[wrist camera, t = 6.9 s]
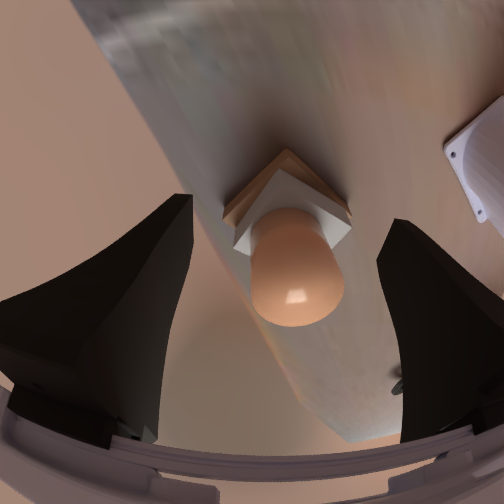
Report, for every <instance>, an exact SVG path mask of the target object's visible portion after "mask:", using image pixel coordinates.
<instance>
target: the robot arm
mask: <svg viewBox="0 0 504 504" xmlns="http://www.w3.org/2000/svg"><path fill="white" fill-rule="evenodd" d="M443 150H444V153H445V154H446V156H447V158H448V160H449V162H450V164H451V165H452V167H453V169H454V171H455V173H456V175H457V177H458V179H459V181H460V183H461V185H462V187H463V189H464V191H465V194H466V196H467V198H468V200H469V202H470V205H471V207H472V209H473V212H474V214H475V216H476V219H477V221H478V222H479V223H483V222H484V221H485V220H486V219H489V220H490V222H491V223H492V224H493V225H494V227H495V228H496V229H497V230H498V232H499V233H500V234H501V235H502V237H503V238H504V95H502V96H500V97H499V98H498V99H497V100H496V101H495V102H493V103H492V104H491V105H490V106H489V107H488V108H487V109H486V110H484V111H483V112H482V113H481V114H480V115H479V116H478V117H476V118H475V119H474V120H473V121H472V122H471V123H469V124H468V125H467V126H466V127H465V128H464V129H462V130H461V131H460V132H459V133H458V134H456V135H455V136H454V137H453V138H452V139H451V140H449V141H448V142H447V143H446V144H445V145H444V149H443ZM452 152H454V153H453V155H452V156H451V153H452ZM193 244H194V238H193V195H190V194H174V195H172V196H171V197H170V198H169V199H168V200H166V201H165V202H164V203H163V204H162V205H160V206H159V207H158V208H157V209H156V210H155V211H153V212H152V213H151V214H150V215H149V216H147V217H146V218H145V219H144V220H143V221H141V222H140V223H139V224H138V225H136V226H135V227H134V228H132V229H131V230H130V231H128V232H127V233H126V234H125V235H123V236H122V237H121V238H119V239H118V240H117V241H115V242H114V243H113V244H111V245H110V246H108V247H107V248H106V249H104V250H102V251H101V252H99V253H98V254H96V255H95V256H93V257H92V258H90V259H88V260H86V261H84V262H83V263H81V264H79V265H78V266H76V267H74V268H73V269H71V270H69V271H67V272H65V273H63V274H62V275H60V276H58V277H56V278H54V279H52V280H50V281H48V282H46V283H43V284H41V285H39V286H37V287H35V288H33V289H30V290H28V291H26V292H23V293H20V294H18V295H16V296H13V297H11V298H8V299H6V300H3V301H1V302H0V371H1V372H2V373H3V374H4V375H5V376H7V377H8V378H9V379H10V380H11V381H12V382H13V383H14V388H13V390H12V392H10V391H9V390H7V389H5V388H4V387H2V386H1V385H0V480H2V481H3V482H4V483H5V484H7V485H8V486H10V487H11V488H12V489H14V490H15V491H17V492H18V493H19V494H21V495H22V496H24V497H25V498H27V499H28V500H30V501H31V502H33V503H35V504H220V503H219V501H220V491H219V490H218V489H217V488H216V487H215V486H212V485H204V484H198V483H191V482H186V481H181V480H175V479H170V478H165V477H162V476H161V474H160V473H158V472H157V471H159V472H164V473H170V474H176V475H182V476H189V477H196V478H205V479H216V480H227V481H244V482H294V481H311V480H322V479H333V478H341V477H349V476H355V475H362V474H368V473H373V472H379V471H384V470H388V469H393V468H397V467H401V466H405V465H409V464H413V463H417V462H420V461H424V460H427V459H431V458H434V457H436V459H435V460H434V462H433V463H430V464H427V465H424V466H422V467H420V468H417V469H415V470H412V471H410V472H407V473H404V474H400V475H397V476H394V477H391V478H389V479H388V486H389V491H388V492H387V493H383V494H379V495H374V496H369V497H364V498H358V499H353V500H346V501H340V502H332V503H325V504H504V300H503V299H501V298H500V297H499V296H497V295H496V294H495V293H493V292H492V291H491V290H489V289H488V288H487V287H486V286H484V285H483V284H482V283H481V282H479V281H478V280H477V279H476V278H475V277H473V276H472V275H471V274H470V273H469V272H468V271H467V270H465V269H464V268H463V267H462V266H461V265H460V264H459V263H458V262H457V261H455V260H454V259H453V258H452V257H451V256H450V255H449V254H448V253H447V252H446V251H444V250H443V249H442V248H441V247H440V246H439V245H438V244H437V243H436V242H435V241H433V240H432V239H431V238H430V237H429V236H428V235H427V234H425V233H424V232H423V231H422V230H421V229H419V228H418V227H417V226H415V225H414V224H413V223H411V222H410V221H408V220H402V219H396V218H395V219H394V221H393V223H392V226H391V228H390V231H389V233H388V235H387V237H386V240H385V242H384V244H383V246H382V249H381V251H380V253H379V255H378V257H377V260H376V261H377V267H378V273H379V278H380V282H381V286H382V289H383V292H384V296H385V299H386V302H387V305H388V308H389V312H390V315H391V318H392V322H393V325H394V328H395V332H396V336H397V340H398V346H399V353H400V360H401V369H402V382H403V417H402V430H401V439H400V444H396V445H391V446H386V447H380V448H374V449H367V450H360V451H352V452H344V453H333V454H320V455H302V456H251V455H232V454H220V453H209V452H201V451H192V450H185V449H178V448H172V447H166V446H161V445H155V444H152V443H154V442H155V441H156V440H157V439H158V420H159V406H160V396H161V387H162V378H163V371H164V364H165V356H166V351H167V344H168V339H169V333H170V328H171V324H172V320H173V317H174V314H175V310H176V307H177V304H178V300H179V297H180V294H181V291H182V288H183V285H184V281H185V278H186V275H187V272H188V269H189V265H190V259H191V254H192V249H193ZM437 456H438V457H437Z"/></svg>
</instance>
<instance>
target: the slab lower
mask: <svg viewBox="0 0 504 504" xmlns="http://www.w3.org/2000/svg"><path fill="white" fill-rule="evenodd" d="M278 168H280V169H281V170H283V171H285V172H286V173H288V174H290V175H292V176H293V177H295V178H297V179H298V180H300V181H302V182H303V183H305V184H307V185H308V186H310V187H311V188H313V189H315V190H316V191H318V192H320V193H321V194H323V195H324V196H326V197H328V198H329V199H331V200H332V201H334V202H335V203H337V204H339V205H340V206H342V207H343V208H345V210H346V213H347V215H348V218H349V220H350V219H351V218H352V215H351V212H350V210H349V207H348V205H347V204H346V203H345V202H344V201H343V200H342V199H341V198H340V197H339V196H338V195H337V194H336V193H335V192H334V191H333V190H332V189H331V188H330V187H329V186H328V185H327V184H326V183H325V182H324V181H323V180H322V179H321V178H320V177H319V176H318V175H317V174H315V173H314V172H313V171H312V170H311V169H310V168H309V167H308V166H307V165H306V164H305V163H304V162H303V161H302V160H300V159H299V158H298V157H297V156H296V155H295V154H294V153H293V152H292V151H290V150H289V149H288V148H287V147H286V148H285V149H284V150H283V151H282V152H281V153H280V154H279V155H278V156H277V157H276V158H275V159H274V160H273V161H272V162H270V163H269V164H268V165H267V166H266V167H265V168H264V169H263V170H262V171H261V172H260V173H259V174H258V175H257V176H256V177H255V178H254V179H253V180H252V181H251V182H250V183H249V184H248V185H247V186H246V187H245V188H244V189H243V190H242V191H241V192H240V193H239V194H238V195H237V196H236V197H235V198H234V199H233V200H232V201H231V202H230V203H229V204H228V205H227V206H226V207H225V208H224V213H223V218H222V221H224V222H225V223H227V224H228V225H229V226H231V227H232V228H234V229H235V228H236V227H237V225H238V224H239V222H240V221H241V220H242V218H243V217H244V215H245V214H246V213H247V211H248V210H249V208H250V207H251V206H252V204H253V203H254V201H255V200H256V199H257V197H258V196H259V194H260V193H261V192H262V190H263V189H264V187H265V186H266V185H267V183H268V182H269V180H270V179H271V178H272V176H273V175H274V174H275V172H276V171H277V169H278Z"/></svg>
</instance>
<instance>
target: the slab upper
mask: <svg viewBox="0 0 504 504" xmlns="http://www.w3.org/2000/svg"><path fill="white" fill-rule="evenodd" d="M281 208H297V209H301V210H304V211H306V212H308V213H310V214H311V215H312V216H314V217H315V219H316V220H317V221H318V222H319V224H320V226H321V228H322V230H323V232H324V235H325V237H326V239H327V241H328V244H329V246H330V248H331V249H332V248H333V247H334V246H335V245H336V244H337V243H338V242H339V241H340V240H341V239H342V238H343V237H344V236H345V235H346V233H347V232H348V231H349V230H350V229H351V228H352V226H351V223H350V220H349V218H348V215H347V213H346V210H345V208H343V207H342V206H340V205H339V204H337V203H335V202H334V201H332V200H331V199H329V198H328V197H326V196H324V195H323V194H321V193H320V192H318V191H316V190H315V189H313V188H311V187H310V186H308V185H307V184H305V183H303V182H302V181H300V180H298V179H297V178H295V177H293V176H292V175H290V174H288V173H286V172H285V171H283V170H281V169H280V168H278V169H277V171H276V172H275V174H274V175H273V176H272V178H271V179H270V180H269V182H268V183H267V185H266V186H265V187H264V189H263V190H262V192H261V193H260V194H259V196H258V197H257V199H256V200H255V201H254V203H253V204H252V206H251V207H250V208H249V210H248V211H247V213H246V214H245V215H244V217H243V218H242V220H241V221H240V222H239V224H238V225H237V227H236V228H235V236H234V244H233V248H234V249H236V250H238V251H240V252H242V253H244V254H246V255H249V256H250V236H251V233H252V230H253V228H254V226H255V225H256V223H257V222H258V221H259V220H260V219H261V218H262V217H263V216H264V215H266V214H267V213H269V212H271V211H274V210H277V209H281Z"/></svg>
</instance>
